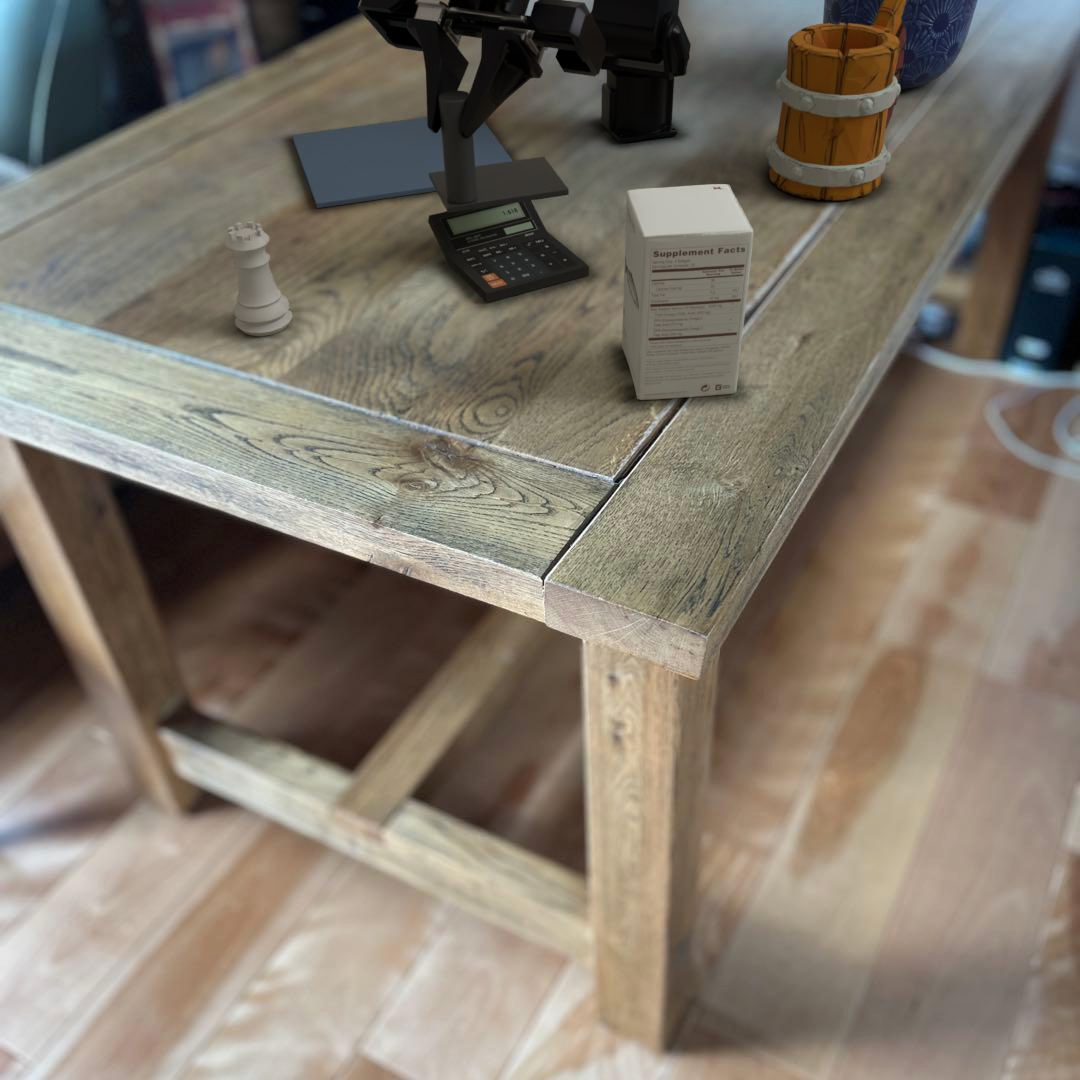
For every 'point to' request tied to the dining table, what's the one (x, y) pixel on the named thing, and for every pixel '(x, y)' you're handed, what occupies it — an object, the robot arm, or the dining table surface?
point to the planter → (916, 32)
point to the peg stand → (485, 169)
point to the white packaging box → (685, 290)
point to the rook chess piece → (256, 283)
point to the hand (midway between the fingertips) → (447, 133)
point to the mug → (838, 106)
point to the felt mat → (381, 160)
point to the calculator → (504, 250)
